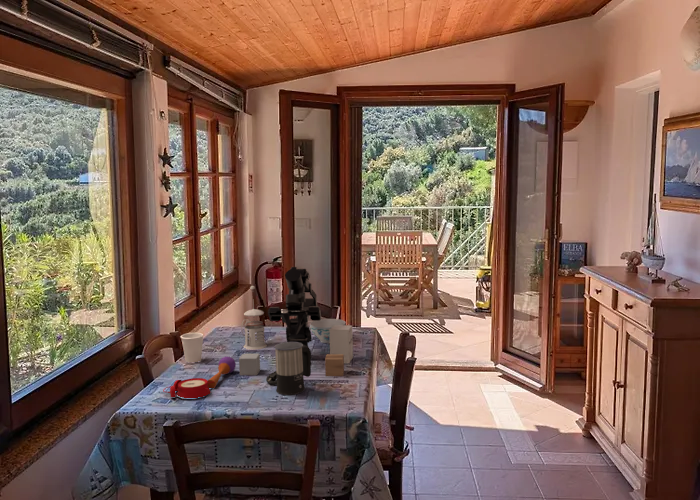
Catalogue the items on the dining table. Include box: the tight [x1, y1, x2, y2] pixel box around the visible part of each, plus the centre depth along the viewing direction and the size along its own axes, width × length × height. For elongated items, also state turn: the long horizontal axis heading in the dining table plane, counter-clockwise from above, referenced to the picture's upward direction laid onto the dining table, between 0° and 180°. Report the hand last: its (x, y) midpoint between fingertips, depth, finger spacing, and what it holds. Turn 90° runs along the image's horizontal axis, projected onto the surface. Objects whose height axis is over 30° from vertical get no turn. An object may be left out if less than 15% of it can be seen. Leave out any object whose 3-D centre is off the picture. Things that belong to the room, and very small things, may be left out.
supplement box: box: [329, 324, 354, 364], centre depth 226 cm, size 7×7×13 cm
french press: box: [240, 285, 268, 351], centre depth 248 cm, size 10×12×25 cm
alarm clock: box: [162, 377, 214, 398], centre depth 194 cm, size 10×6×15 cm
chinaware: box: [309, 318, 346, 344], centre depth 255 cm, size 15×15×8 cm
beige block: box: [238, 353, 261, 376], centre depth 215 cm, size 6×6×6 cm
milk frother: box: [265, 341, 312, 396], centre depth 198 cm, size 14×16×15 cm
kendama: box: [207, 356, 237, 389], centre depth 209 cm, size 6×6×20 cm
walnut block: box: [324, 353, 345, 377], centre depth 211 cm, size 6×6×6 cm
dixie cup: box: [180, 332, 204, 363], centre depth 230 cm, size 8×8×10 cm
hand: (292, 333), depth 217 cm, fingers open, 2 cm apart
